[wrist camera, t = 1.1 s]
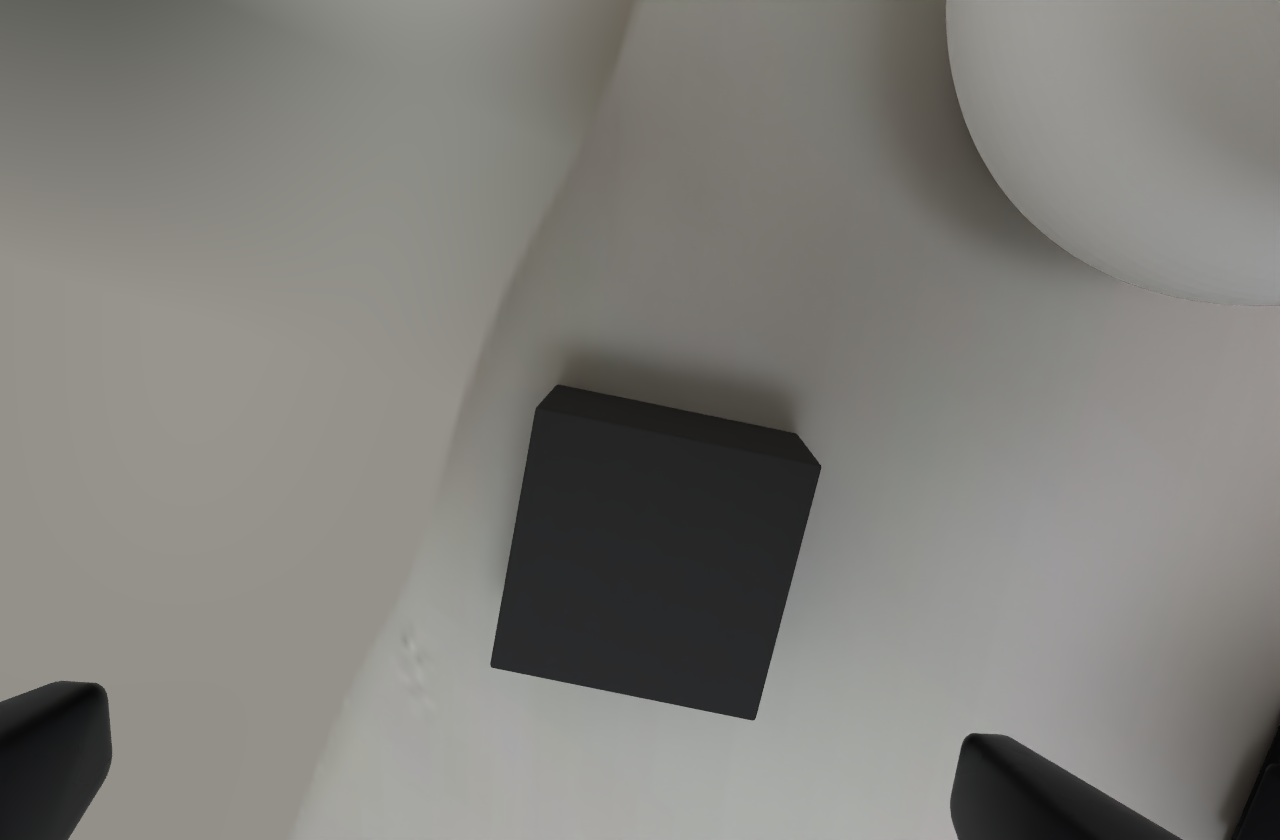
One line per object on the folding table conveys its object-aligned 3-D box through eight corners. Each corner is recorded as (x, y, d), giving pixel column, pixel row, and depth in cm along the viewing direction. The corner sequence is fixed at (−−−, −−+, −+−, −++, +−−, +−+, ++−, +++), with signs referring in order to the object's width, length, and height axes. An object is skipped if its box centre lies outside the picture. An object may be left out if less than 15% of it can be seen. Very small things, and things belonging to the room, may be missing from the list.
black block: (798, 433, 19) (822, 465, 16) (742, 654, 20) (755, 721, 17) (556, 383, 19) (535, 406, 16) (515, 607, 20) (489, 668, 17)
